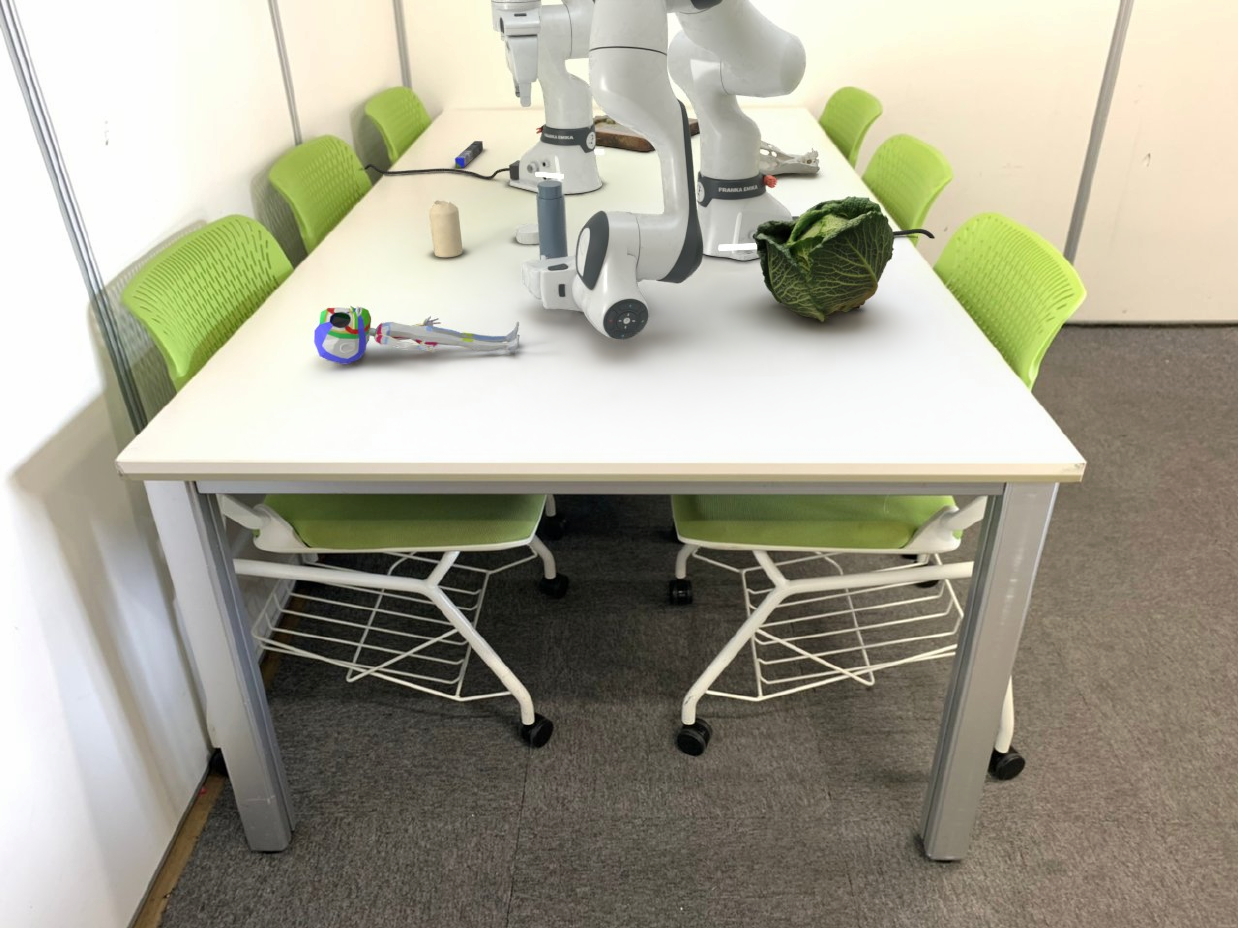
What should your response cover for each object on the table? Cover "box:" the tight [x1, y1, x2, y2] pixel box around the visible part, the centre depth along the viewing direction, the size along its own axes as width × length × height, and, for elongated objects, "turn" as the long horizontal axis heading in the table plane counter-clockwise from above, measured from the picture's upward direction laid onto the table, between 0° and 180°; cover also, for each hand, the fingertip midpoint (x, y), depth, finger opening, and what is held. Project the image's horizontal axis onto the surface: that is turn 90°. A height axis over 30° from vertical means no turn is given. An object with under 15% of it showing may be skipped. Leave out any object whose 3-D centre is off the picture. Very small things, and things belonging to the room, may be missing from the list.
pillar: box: [454, 140, 484, 169], centre depth 238 cm, size 2×2×20 cm
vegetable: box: [754, 195, 896, 323], centre depth 144 cm, size 20×19×20 cm
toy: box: [312, 305, 520, 365], centre depth 135 cm, size 10×8×30 cm
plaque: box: [593, 114, 700, 152], centre depth 257 cm, size 30×7×30 cm
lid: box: [515, 222, 539, 245], centre depth 181 cm, size 6×6×2 cm
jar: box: [535, 180, 569, 260], centre depth 163 cm, size 5×5×16 cm
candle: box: [428, 200, 464, 258], centre depth 172 cm, size 6×6×10 cm
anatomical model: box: [759, 140, 821, 176], centre depth 220 cm, size 15×9×25 cm
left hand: (523, 101), depth 166 cm, fingers open, 8 cm apart
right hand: (571, 255), depth 154 cm, fingers open, 8 cm apart
